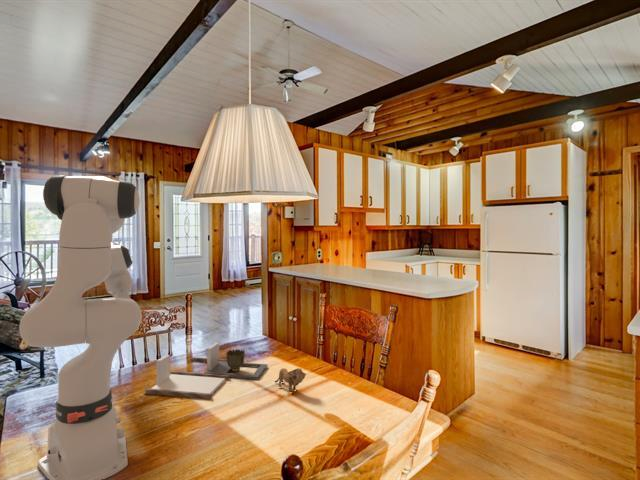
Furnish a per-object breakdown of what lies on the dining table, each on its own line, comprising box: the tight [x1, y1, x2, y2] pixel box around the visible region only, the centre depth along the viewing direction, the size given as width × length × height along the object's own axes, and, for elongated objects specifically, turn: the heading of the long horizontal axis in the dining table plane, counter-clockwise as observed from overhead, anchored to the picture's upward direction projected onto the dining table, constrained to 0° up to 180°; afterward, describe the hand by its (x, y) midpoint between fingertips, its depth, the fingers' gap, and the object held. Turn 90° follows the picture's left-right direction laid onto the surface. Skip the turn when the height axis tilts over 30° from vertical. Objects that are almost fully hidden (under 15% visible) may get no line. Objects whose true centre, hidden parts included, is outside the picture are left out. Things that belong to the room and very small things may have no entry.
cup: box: [225, 348, 246, 373], centre depth 146 cm, size 8×7×8 cm
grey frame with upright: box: [203, 342, 268, 380], centre depth 146 cm, size 22×13×10 cm, turn 82°
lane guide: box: [144, 356, 245, 400], centre depth 139 cm, size 24×33×2 cm
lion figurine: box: [274, 367, 307, 393], centre depth 130 cm, size 15×5×9 cm, turn 50°
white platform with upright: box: [150, 354, 226, 395], centre depth 130 cm, size 22×13×10 cm, turn 82°
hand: (130, 320), depth 133 cm, fingers closed
